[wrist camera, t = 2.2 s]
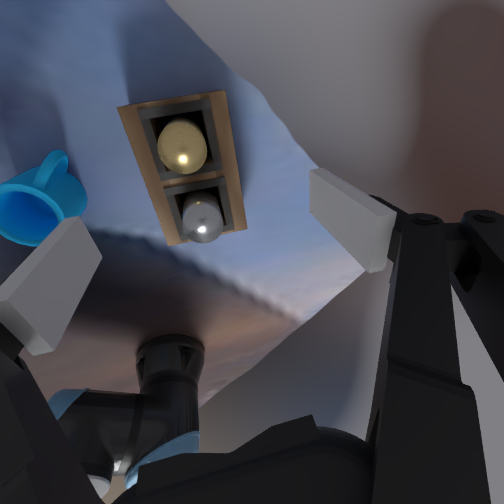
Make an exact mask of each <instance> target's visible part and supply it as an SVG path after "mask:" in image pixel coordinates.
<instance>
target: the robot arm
mask: <svg viewBox="0 0 504 504" xmlns="http://www.w3.org/2000/svg"><path fill="white" fill-rule="evenodd" d="M310 213H311V214H312V215H313V216H314V217H315V218H316V219H317V220H318V221H319V222H320V223H321V224H322V225H323V226H324V228H325V229H326V230H327V231H328V232H329V233H330V234H331V235H332V236H333V237H334V238H335V239H336V240H337V241H338V242H339V243H340V244H341V245H342V246H343V247H344V248H345V249H346V250H347V251H348V252H349V253H350V254H351V255H352V256H353V257H354V258H355V259H356V260H357V261H358V262H359V263H360V264H361V266H362V267H363V268H364V269H365V270H366V271H367V272H368V273H372V272H376V271H380V270H384V269H385V267H386V263H387V258H389V259H390V260H391V261H392V262H393V263H394V265H393V269H392V274H391V278H390V282H389V283H390V288H389V295H388V302H387V309H386V315H385V322H384V328H383V335H382V341H381V348H380V354H379V361H378V368H377V374H376V382H375V388H374V394H373V401H372V408H371V414H370V419H369V424H368V429H367V434H366V440H365V441H363V440H362V439H360V438H358V437H356V436H354V435H352V434H350V433H347V432H345V431H342V430H338V429H335V428H329V427H320V426H318V427H317V426H316V424H315V422H314V419H313V416H312V415H308V416H304V417H301V418H298V419H294V420H291V421H288V422H284V423H281V424H278V425H274V426H271V427H270V428H268V429H267V430H265V431H264V432H262V433H261V434H259V435H258V436H256V437H254V438H253V439H251V440H250V441H249V442H247V443H245V444H244V445H242V446H241V447H239V448H238V449H236V450H235V451H233V452H230V453H199V438H200V432H199V413H198V381H199V378H200V375H201V371H202V368H203V365H204V350H203V347H202V346H201V344H200V343H199V342H198V341H196V340H195V339H193V338H190V337H187V336H183V335H166V336H161V337H158V338H155V339H153V340H151V341H149V342H147V343H146V344H145V345H143V346H142V348H141V349H140V350H139V352H138V355H137V360H136V371H137V376H138V381H139V386H140V394H135V393H125V392H113V391H101V390H90V389H89V388H85V389H63V390H60V391H58V392H57V393H55V394H54V395H53V396H52V397H51V398H50V399H49V400H48V401H46V400H45V398H44V396H43V394H42V392H41V390H40V389H39V387H38V385H37V383H36V381H35V380H34V378H33V376H32V374H31V372H30V371H29V369H28V367H27V365H26V363H25V362H24V360H22V359H21V358H20V357H19V356H18V354H19V353H20V351H21V350H22V348H23V347H25V348H26V349H27V350H28V351H29V352H30V353H31V354H32V355H33V356H36V355H40V354H44V353H48V352H52V351H55V349H56V347H57V345H58V343H59V341H60V339H61V337H62V335H63V333H64V331H65V329H66V327H67V326H68V324H69V322H70V320H71V318H72V316H73V314H74V312H75V310H76V308H77V306H78V304H79V302H80V300H81V298H82V296H83V294H84V292H85V290H86V288H87V286H88V284H89V283H90V281H91V279H92V277H93V275H94V273H95V271H96V269H97V267H98V265H99V263H100V261H101V259H102V255H101V253H100V252H99V250H98V248H97V246H96V244H95V243H94V241H93V239H92V237H91V236H90V234H89V232H88V230H87V229H86V227H85V225H84V223H83V221H82V220H81V218H80V216H75V217H70V218H65V219H64V220H63V221H62V222H61V223H60V224H59V225H58V226H57V227H56V228H55V229H54V230H53V231H52V232H51V233H50V234H49V235H48V236H47V237H46V239H45V240H44V241H43V242H42V243H41V244H40V245H39V246H38V247H37V248H36V249H35V250H34V251H33V252H32V253H31V254H30V255H29V256H28V257H27V258H26V259H25V261H24V262H23V263H22V264H21V265H20V266H19V267H18V268H17V269H16V270H15V271H14V272H13V273H12V274H11V275H10V276H9V277H8V278H6V279H5V280H4V281H3V282H2V283H1V284H0V504H105V503H104V502H103V501H102V499H101V498H102V497H103V496H104V495H105V494H106V493H107V491H108V490H109V488H110V483H111V479H112V476H125V479H124V481H125V486H126V488H127V490H126V491H125V492H123V493H122V494H121V495H120V496H119V497H118V498H117V499H116V500H115V501H114V502H113V503H112V504H491V500H490V493H489V486H488V480H487V472H486V465H485V459H484V453H483V445H482V438H481V431H480V424H479V418H478V410H477V405H476V399H475V395H474V392H473V390H472V388H471V387H470V386H468V385H465V384H463V383H462V381H461V375H460V366H459V357H458V348H457V339H456V330H455V320H454V311H453V302H452V293H451V285H452V287H453V289H454V290H455V292H456V294H457V296H458V297H459V300H460V302H461V303H462V305H463V307H464V309H465V310H466V313H467V315H468V316H469V318H470V320H471V322H472V324H473V325H474V328H475V329H476V331H477V333H478V335H479V337H480V339H481V340H482V343H483V344H484V346H485V348H486V350H487V352H488V354H489V356H490V357H491V359H492V361H493V363H494V365H495V367H496V368H497V370H498V372H499V374H500V376H501V378H502V380H503V382H504V215H502V214H499V213H496V212H495V211H491V210H490V211H489V210H470V211H467V212H465V213H464V215H463V217H462V220H461V222H460V223H444V222H443V220H442V219H440V218H439V217H437V216H434V215H431V214H425V213H414V214H408V213H406V212H404V211H403V210H401V209H399V208H397V207H396V206H393V205H392V204H390V203H389V202H387V201H385V200H383V199H382V198H380V197H376V196H373V195H367V194H365V193H363V192H362V191H360V190H358V189H357V188H355V187H353V186H352V185H350V184H348V183H347V182H345V181H343V180H342V179H340V178H338V177H337V176H335V175H333V174H332V173H330V172H328V171H327V170H325V169H323V168H318V169H313V170H310Z"/></svg>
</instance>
